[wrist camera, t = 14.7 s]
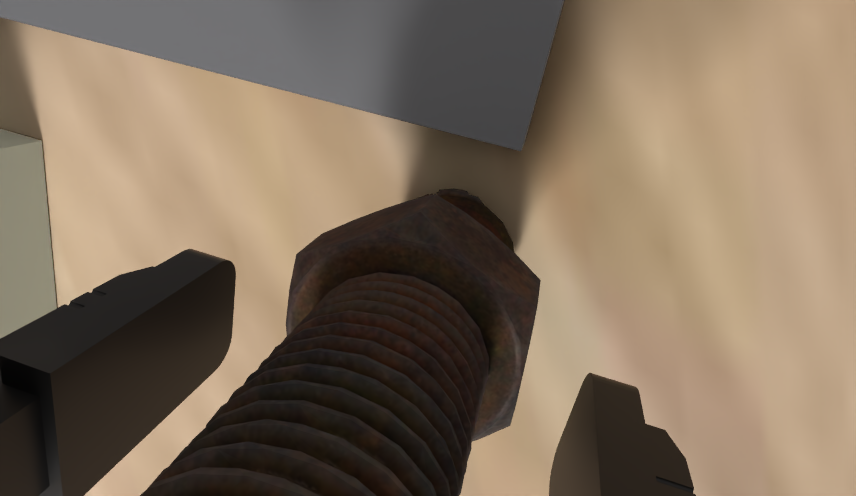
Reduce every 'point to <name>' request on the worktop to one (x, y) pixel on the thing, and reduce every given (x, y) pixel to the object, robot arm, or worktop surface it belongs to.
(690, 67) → the worktop surface
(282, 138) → the worktop surface
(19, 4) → the board
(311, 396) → the bolt
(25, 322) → the pale green block
